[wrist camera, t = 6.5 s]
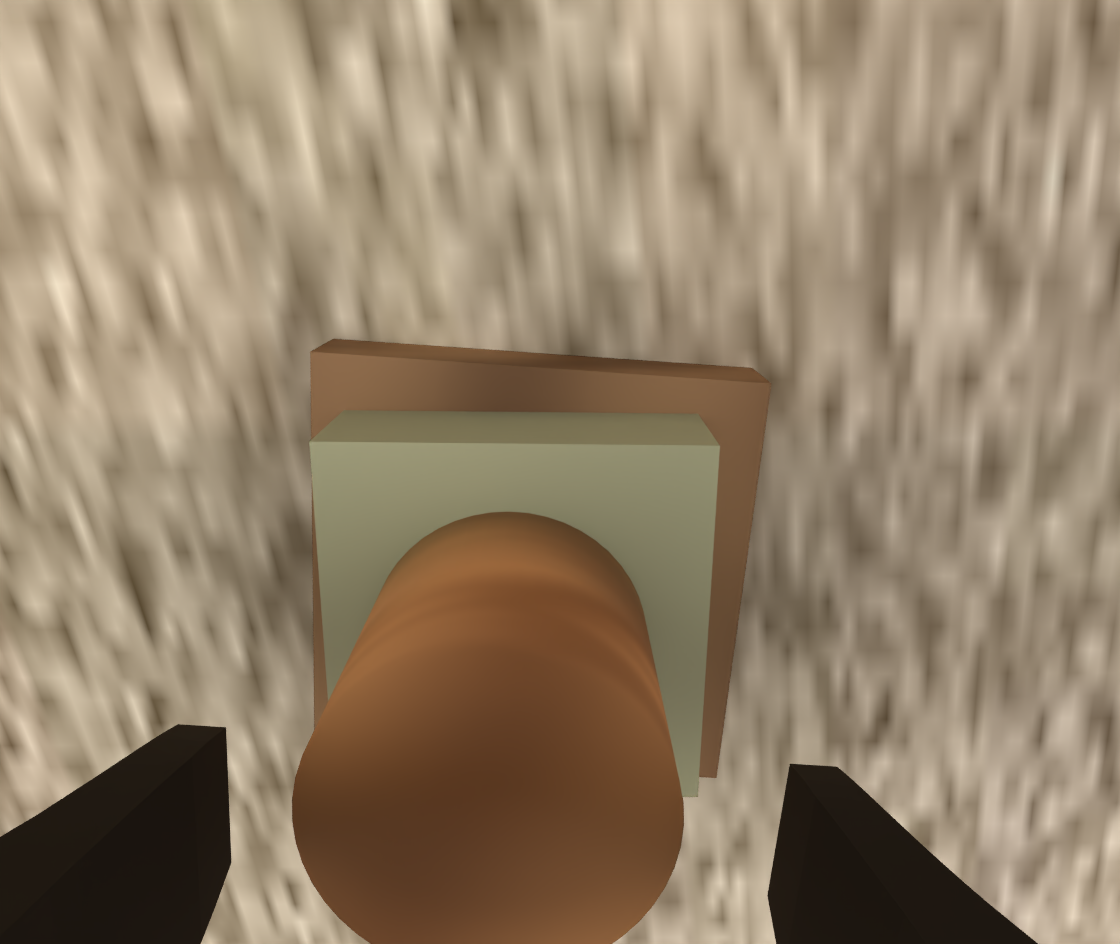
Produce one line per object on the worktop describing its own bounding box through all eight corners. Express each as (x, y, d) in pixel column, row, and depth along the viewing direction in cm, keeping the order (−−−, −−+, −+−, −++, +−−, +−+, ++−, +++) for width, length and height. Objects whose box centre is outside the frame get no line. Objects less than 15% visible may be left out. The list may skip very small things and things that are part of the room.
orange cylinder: (699, 597, 16) (760, 763, 11) (556, 801, 17) (556, 1031, 12) (456, 459, 15) (407, 574, 10) (325, 683, 16) (226, 879, 11)
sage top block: (698, 413, 17) (719, 446, 15) (680, 724, 19) (697, 797, 17) (343, 410, 17) (309, 441, 15) (362, 721, 19) (334, 793, 17)
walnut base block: (745, 362, 20) (771, 383, 17) (699, 716, 22) (716, 777, 20) (341, 334, 19) (310, 351, 17) (341, 694, 22) (314, 753, 20)
